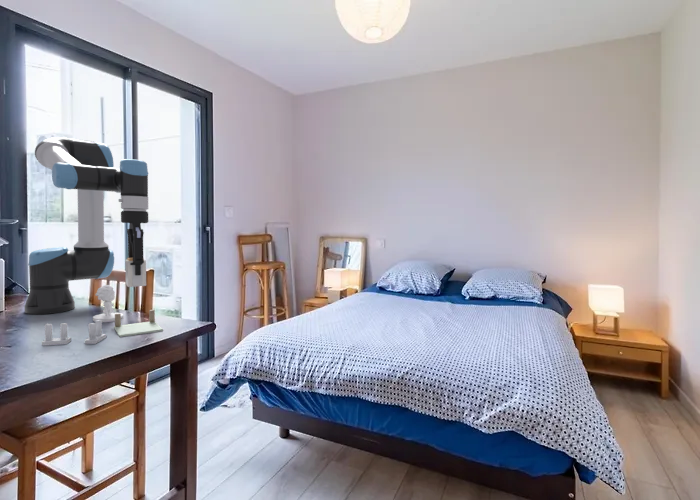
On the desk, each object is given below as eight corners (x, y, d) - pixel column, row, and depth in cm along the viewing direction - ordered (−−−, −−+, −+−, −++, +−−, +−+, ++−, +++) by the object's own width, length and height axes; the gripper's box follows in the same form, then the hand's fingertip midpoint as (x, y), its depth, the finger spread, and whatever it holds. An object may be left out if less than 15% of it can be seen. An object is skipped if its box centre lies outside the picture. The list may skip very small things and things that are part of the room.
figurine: (109, 323, 132) (108, 287, 131) (86, 321, 134) (85, 286, 133) (129, 316, 141) (128, 283, 140) (107, 314, 143) (107, 282, 142)
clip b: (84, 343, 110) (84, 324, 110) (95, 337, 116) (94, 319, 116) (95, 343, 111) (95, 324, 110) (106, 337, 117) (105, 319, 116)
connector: (125, 284, 124) (125, 257, 124) (143, 283, 127) (142, 257, 127) (128, 287, 121) (127, 259, 120) (146, 285, 124) (145, 258, 123)
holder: (114, 327, 127) (113, 313, 126) (154, 322, 134) (154, 309, 134) (119, 337, 117) (119, 321, 117) (162, 330, 124) (162, 316, 124)
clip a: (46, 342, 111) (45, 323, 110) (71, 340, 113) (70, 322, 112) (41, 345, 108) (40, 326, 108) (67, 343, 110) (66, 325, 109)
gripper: (117, 210, 127) (118, 281, 129) (125, 209, 113) (126, 289, 115) (142, 210, 132) (143, 279, 133) (153, 210, 117) (154, 287, 119)
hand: (135, 284), depth 124 cm, fingers closed on connector, 5 cm apart
